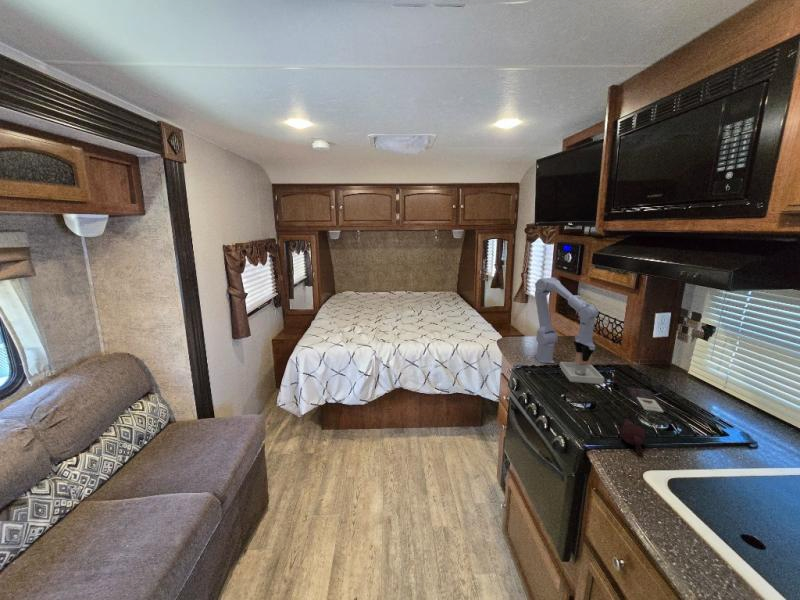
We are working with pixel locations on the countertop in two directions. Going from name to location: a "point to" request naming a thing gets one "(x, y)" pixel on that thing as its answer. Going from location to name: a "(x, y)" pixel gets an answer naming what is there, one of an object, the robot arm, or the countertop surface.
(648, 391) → the chocolate bar
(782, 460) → the countertop surface
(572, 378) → the tray
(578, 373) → the tin
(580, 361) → the carton
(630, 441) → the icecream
